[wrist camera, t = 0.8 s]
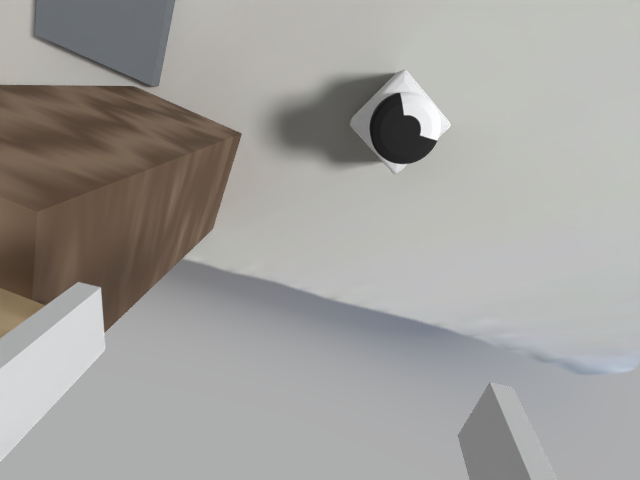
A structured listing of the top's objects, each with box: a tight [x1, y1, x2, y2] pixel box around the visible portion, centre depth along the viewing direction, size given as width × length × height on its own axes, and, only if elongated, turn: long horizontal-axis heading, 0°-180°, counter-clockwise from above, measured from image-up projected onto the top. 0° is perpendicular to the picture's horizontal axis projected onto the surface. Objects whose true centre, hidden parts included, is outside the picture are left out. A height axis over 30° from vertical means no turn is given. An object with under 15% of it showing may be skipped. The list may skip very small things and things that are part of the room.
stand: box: [0, 85, 241, 333], centre depth 32 cm, size 14×14×30 cm
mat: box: [35, 0, 175, 86], centre depth 39 cm, size 14×10×2 cm
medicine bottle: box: [350, 70, 451, 174], centre depth 35 cm, size 7×7×12 cm
